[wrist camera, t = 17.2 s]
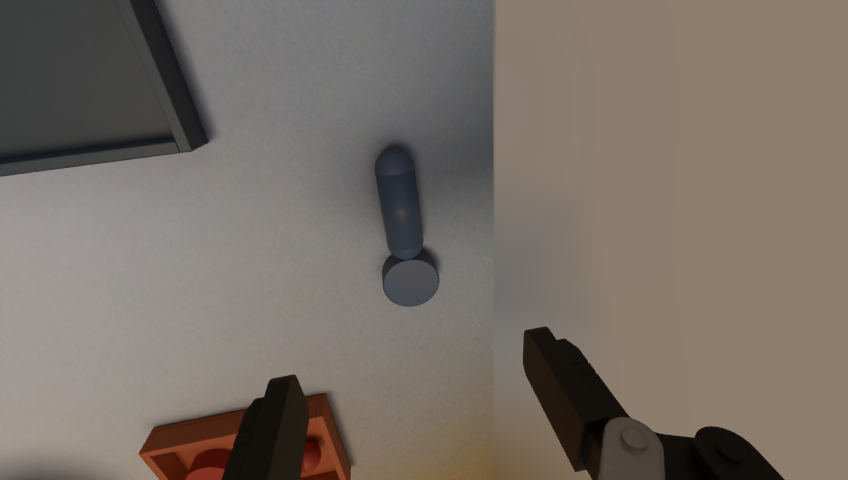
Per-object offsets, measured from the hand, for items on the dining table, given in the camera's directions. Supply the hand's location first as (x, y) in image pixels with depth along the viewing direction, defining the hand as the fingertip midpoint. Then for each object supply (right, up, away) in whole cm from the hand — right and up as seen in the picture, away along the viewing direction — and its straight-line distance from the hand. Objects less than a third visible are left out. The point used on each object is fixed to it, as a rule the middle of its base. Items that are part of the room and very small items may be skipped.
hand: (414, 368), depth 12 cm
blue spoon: (-1, +5, +12) cm, 13 cm away
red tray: (-15, -15, +20) cm, 29 cm away
